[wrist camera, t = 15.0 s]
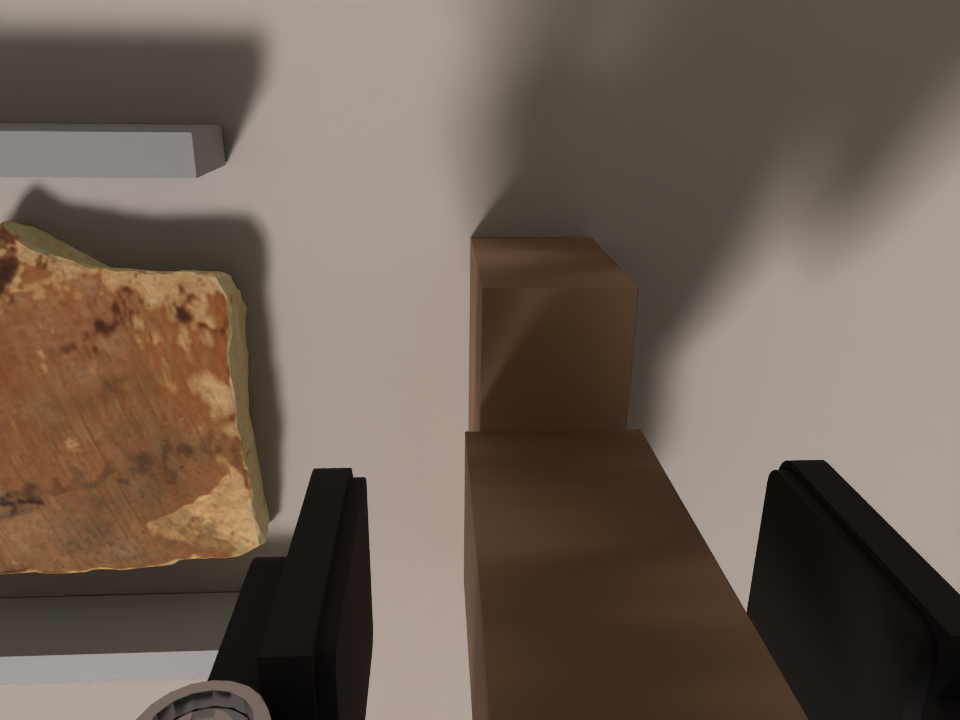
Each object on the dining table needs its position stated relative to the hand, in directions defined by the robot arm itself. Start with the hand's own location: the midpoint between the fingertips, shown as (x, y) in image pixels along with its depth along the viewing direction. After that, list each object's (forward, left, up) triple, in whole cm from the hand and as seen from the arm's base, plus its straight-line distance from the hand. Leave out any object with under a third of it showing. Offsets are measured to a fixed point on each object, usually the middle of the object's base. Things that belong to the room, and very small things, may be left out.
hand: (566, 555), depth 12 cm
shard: (+8, +6, -7) cm, 12 cm away
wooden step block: (0, 0, -6) cm, 6 cm away
